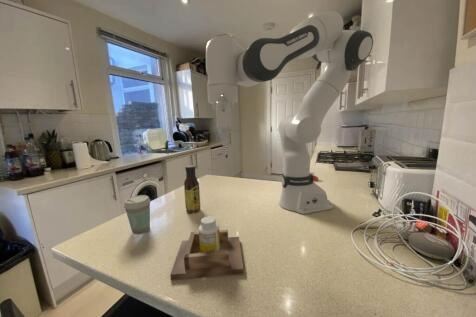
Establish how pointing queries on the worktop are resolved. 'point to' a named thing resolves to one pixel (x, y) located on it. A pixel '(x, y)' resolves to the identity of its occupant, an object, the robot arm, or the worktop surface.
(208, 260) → the slot holder
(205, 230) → the supplement bottle
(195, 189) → the sauce bottle
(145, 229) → the coffee cup
